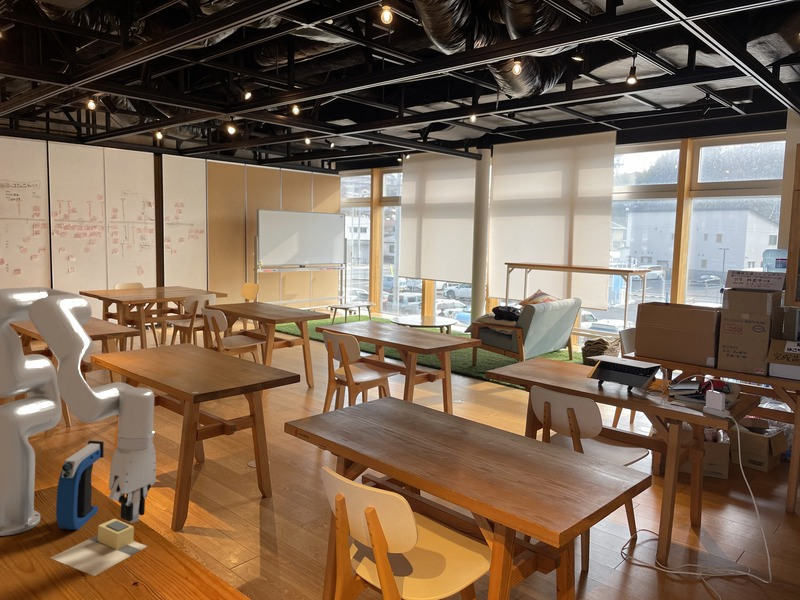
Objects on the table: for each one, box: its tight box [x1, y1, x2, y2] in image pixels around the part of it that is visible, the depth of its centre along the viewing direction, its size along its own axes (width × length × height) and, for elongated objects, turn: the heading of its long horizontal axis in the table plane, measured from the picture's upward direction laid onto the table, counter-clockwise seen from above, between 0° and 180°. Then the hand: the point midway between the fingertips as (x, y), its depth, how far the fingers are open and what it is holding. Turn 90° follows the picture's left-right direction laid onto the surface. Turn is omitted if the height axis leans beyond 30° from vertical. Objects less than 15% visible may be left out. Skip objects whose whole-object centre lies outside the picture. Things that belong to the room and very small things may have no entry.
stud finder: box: [97, 518, 135, 550], centre depth 144 cm, size 7×4×4 cm, turn 63°
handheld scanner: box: [55, 440, 105, 531], centre depth 152 cm, size 5×16×20 cm, turn 2°
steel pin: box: [125, 488, 141, 524], centre depth 140 cm, size 3×3×9 cm
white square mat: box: [50, 534, 149, 577], centre depth 139 cm, size 14×15×1 cm
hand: (132, 515), depth 140 cm, fingers closed on steel pin, 2 cm apart
